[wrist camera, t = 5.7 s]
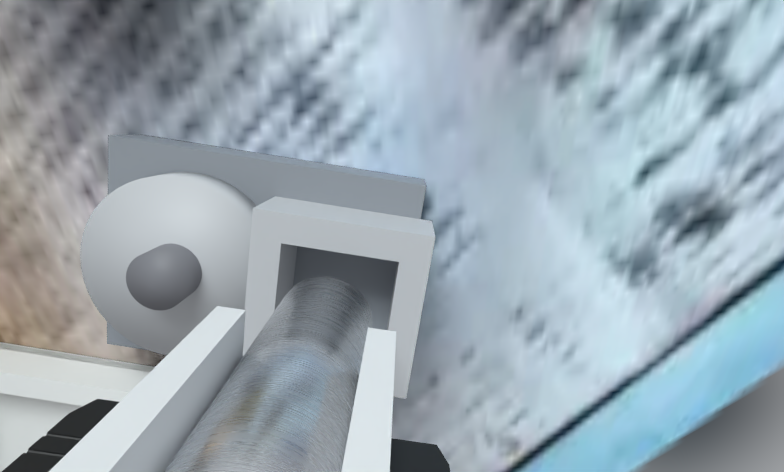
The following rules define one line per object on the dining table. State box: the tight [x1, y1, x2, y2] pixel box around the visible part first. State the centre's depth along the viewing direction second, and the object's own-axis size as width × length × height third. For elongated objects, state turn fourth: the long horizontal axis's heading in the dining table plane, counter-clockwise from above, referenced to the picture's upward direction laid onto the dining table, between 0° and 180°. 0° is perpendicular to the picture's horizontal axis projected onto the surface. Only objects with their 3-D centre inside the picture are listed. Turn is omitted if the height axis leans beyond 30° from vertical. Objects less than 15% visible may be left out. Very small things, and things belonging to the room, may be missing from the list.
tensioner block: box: [80, 135, 435, 399], centre depth 21 cm, size 14×10×6 cm
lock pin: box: [164, 276, 373, 472], centre depth 10 cm, size 3×3×13 cm
